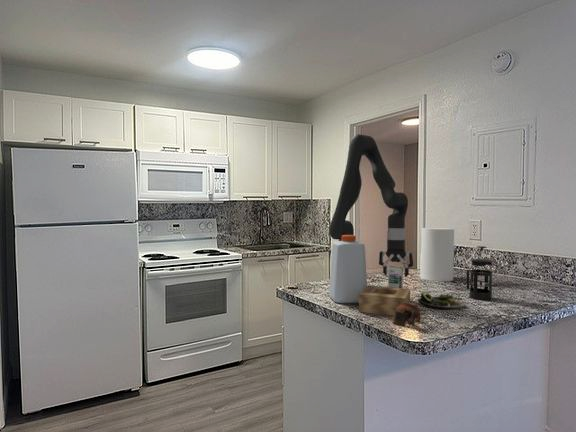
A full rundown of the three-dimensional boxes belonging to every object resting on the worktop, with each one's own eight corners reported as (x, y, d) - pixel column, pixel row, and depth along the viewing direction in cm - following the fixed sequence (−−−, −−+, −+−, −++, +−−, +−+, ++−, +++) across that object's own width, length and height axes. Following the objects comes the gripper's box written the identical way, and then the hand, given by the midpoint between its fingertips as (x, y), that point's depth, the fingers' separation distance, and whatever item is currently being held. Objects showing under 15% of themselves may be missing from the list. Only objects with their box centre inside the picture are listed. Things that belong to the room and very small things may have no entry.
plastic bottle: (370, 303, 169) (371, 236, 168) (336, 304, 166) (336, 237, 165) (358, 294, 184) (359, 233, 183) (326, 296, 181) (327, 234, 180)
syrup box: (387, 300, 173) (388, 267, 173) (389, 297, 179) (389, 265, 178) (401, 301, 171) (401, 268, 171) (402, 298, 177) (403, 266, 176)
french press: (498, 299, 177) (499, 247, 176) (486, 301, 172) (487, 248, 171) (473, 293, 187) (474, 244, 186) (461, 296, 181) (462, 245, 180)
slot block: (358, 311, 155) (358, 294, 155) (368, 301, 171) (368, 285, 171) (404, 317, 149) (404, 298, 148) (409, 306, 164) (410, 289, 164)
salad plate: (450, 298, 179) (450, 288, 179) (477, 308, 162) (477, 297, 162) (410, 300, 175) (411, 290, 175) (434, 311, 158) (434, 299, 158)
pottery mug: (385, 321, 145) (393, 300, 147) (408, 332, 146) (415, 311, 148) (402, 323, 133) (409, 299, 136) (426, 334, 134) (433, 311, 137)
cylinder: (458, 281, 215) (459, 229, 214) (426, 281, 215) (427, 229, 214) (446, 275, 232) (447, 227, 231) (416, 275, 232) (417, 227, 231)
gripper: (377, 238, 173) (377, 276, 174) (412, 239, 168) (411, 278, 168) (381, 237, 180) (380, 273, 181) (414, 238, 175) (413, 275, 175)
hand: (395, 275), depth 174 cm, fingers open, 8 cm apart
